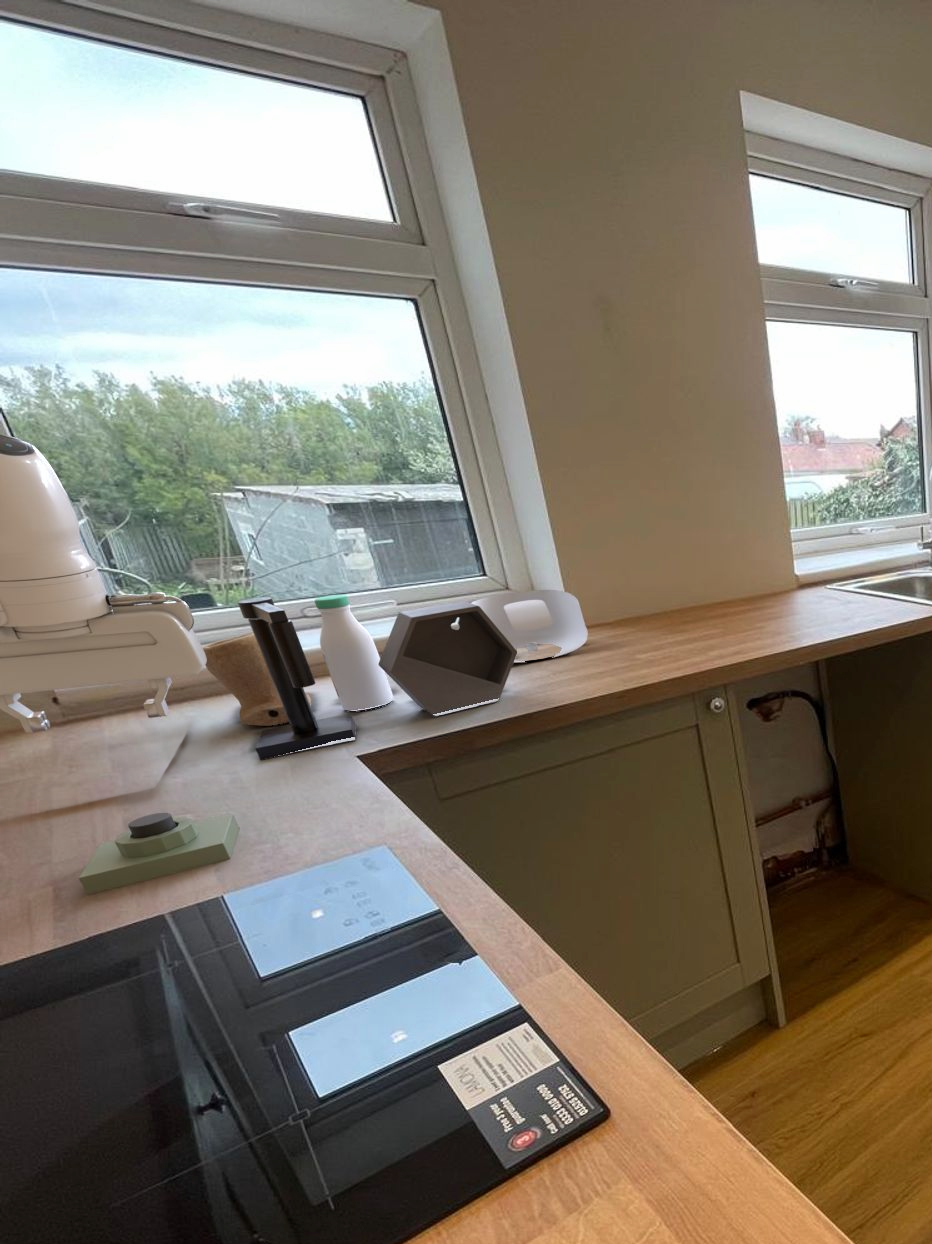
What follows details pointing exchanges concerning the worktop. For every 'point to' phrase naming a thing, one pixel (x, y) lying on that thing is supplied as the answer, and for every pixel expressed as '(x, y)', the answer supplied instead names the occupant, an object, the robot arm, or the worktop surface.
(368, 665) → the milk bottle
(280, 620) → the spout
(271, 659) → the base
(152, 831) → the button
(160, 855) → the control block
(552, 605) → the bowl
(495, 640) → the planter
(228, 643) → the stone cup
